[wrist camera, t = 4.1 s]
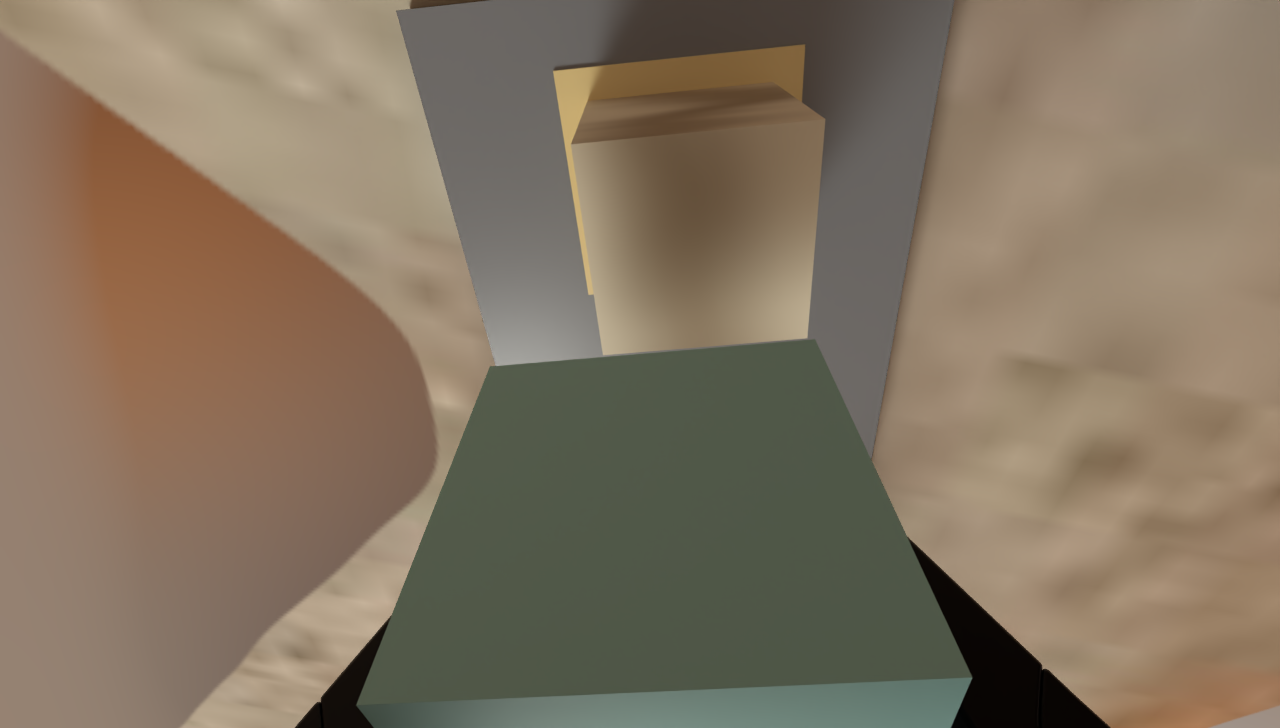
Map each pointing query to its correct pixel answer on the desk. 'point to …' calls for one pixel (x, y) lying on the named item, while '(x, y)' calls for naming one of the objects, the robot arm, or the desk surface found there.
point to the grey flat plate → (661, 63)
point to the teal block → (665, 559)
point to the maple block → (699, 215)
